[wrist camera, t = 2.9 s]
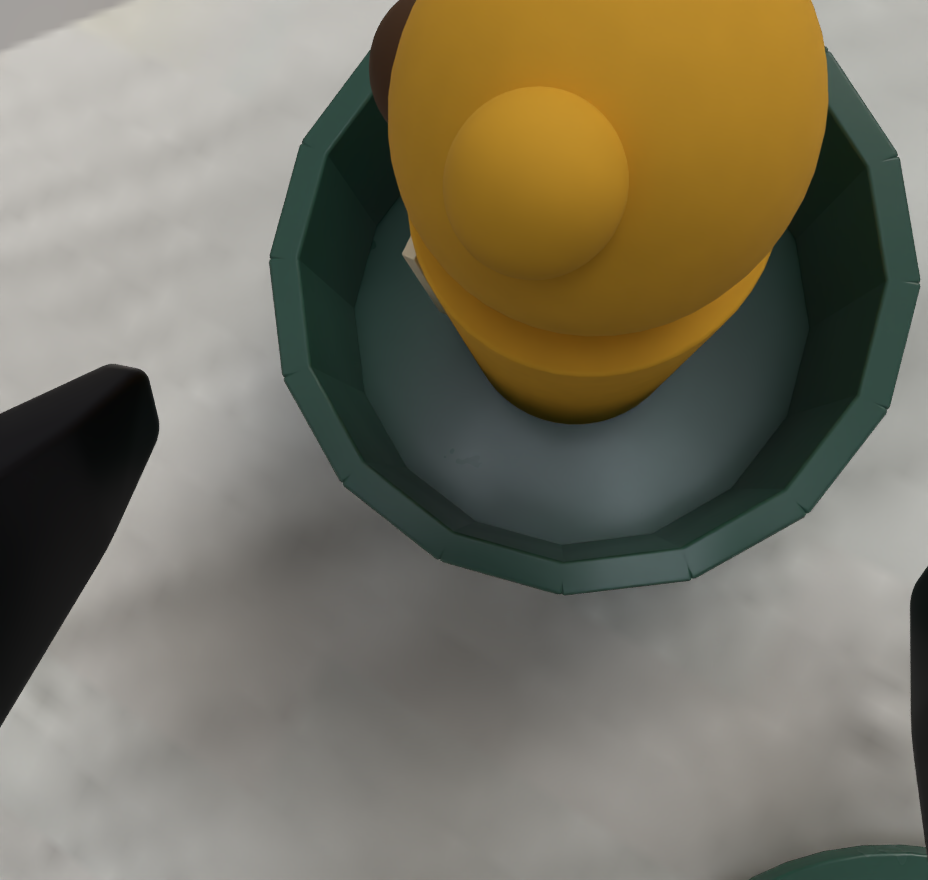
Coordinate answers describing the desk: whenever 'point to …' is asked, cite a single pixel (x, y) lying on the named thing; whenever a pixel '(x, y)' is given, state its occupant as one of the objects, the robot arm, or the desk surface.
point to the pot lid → (855, 864)
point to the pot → (613, 440)
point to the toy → (596, 177)
